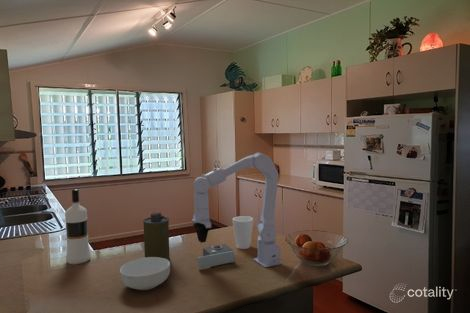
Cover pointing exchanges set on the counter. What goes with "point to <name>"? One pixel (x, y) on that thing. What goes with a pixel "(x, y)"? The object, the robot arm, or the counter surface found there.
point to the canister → (156, 236)
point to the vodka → (77, 232)
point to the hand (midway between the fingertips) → (202, 241)
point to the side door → (215, 259)
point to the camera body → (216, 249)
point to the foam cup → (243, 231)
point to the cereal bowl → (145, 272)
